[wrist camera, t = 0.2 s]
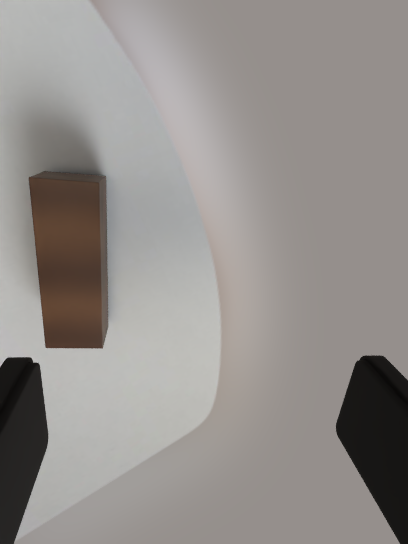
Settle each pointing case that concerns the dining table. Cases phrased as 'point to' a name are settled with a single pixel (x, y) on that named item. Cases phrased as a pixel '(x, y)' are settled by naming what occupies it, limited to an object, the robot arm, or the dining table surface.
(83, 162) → the dining table surface
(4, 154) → the dining table surface
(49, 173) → the brown wooden block
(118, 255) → the dining table surface
